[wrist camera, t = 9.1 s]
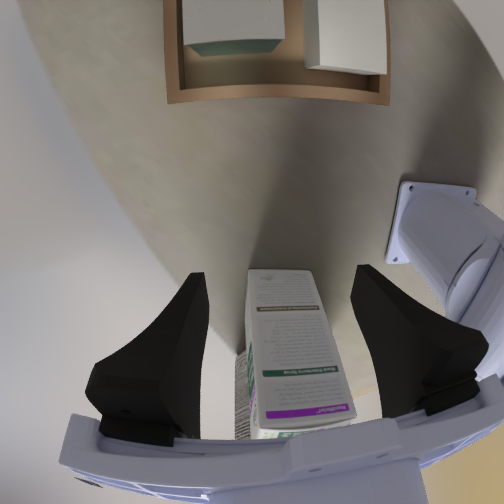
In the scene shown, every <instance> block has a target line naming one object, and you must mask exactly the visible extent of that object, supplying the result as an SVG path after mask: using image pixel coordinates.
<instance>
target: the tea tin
mask: <svg viewBox="0 0 504 504" xmlns="http://www.w3.org/2000/svg"><path fill="white" fill-rule="evenodd" d="M182 8H183V36H184V45H185V46H189V47H190V48H191V49H193V50H194V51H195V52H196V53H198V54H199V55H200V56H202V57H209V56H220V55H234V54H258V53H272V51H273V50H274V49H275V48H276V47H277V45H278V44H279V43H280V42H281V41H282V40H285V26H284V8H283V0H182Z"/></svg>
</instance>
